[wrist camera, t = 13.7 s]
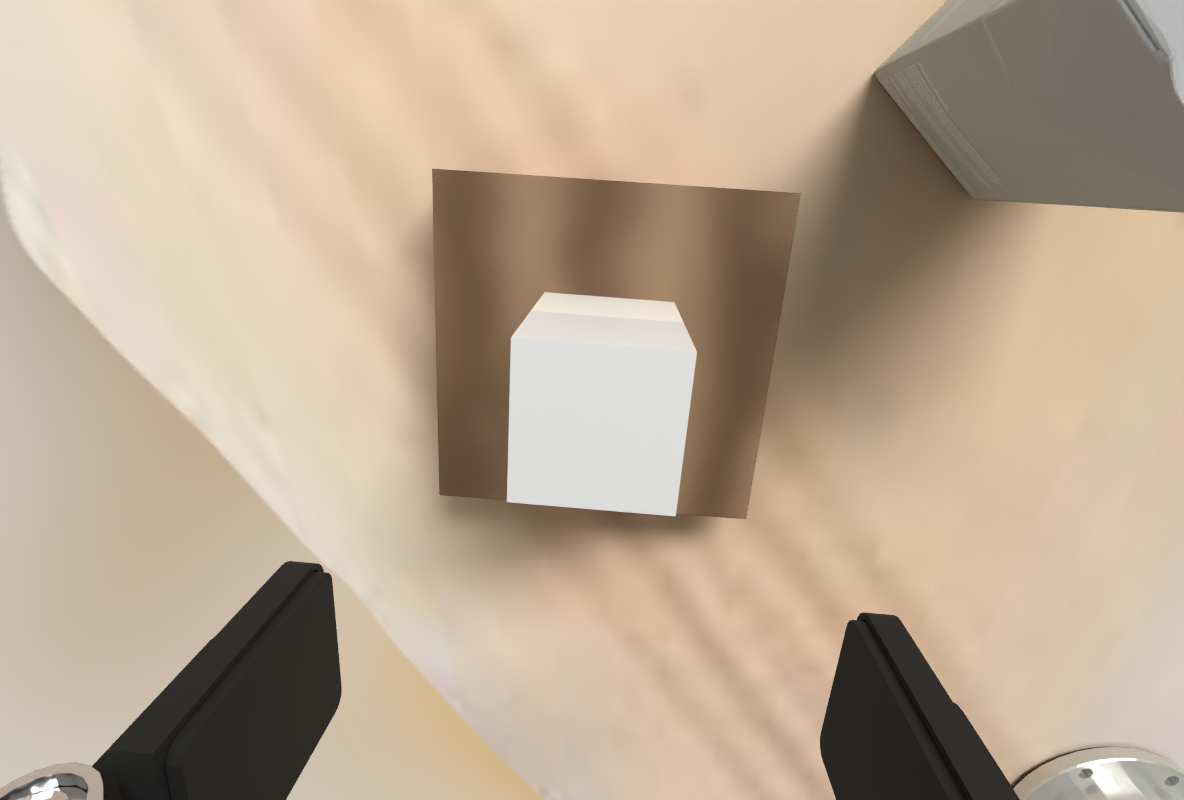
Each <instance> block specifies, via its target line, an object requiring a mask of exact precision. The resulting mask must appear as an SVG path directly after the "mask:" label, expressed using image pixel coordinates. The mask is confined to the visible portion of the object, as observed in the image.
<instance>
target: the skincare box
mask: <svg viewBox="0 0 1184 800" xmlns="http://www.w3.org/2000/svg"><path fill="white" fill-rule="evenodd" d="M874 75H875V77H876V78H877V80H878V81H879V82H880V83H881V85H882V86H883V87H884V88H885V89H886V91H887V92H888V93H889V95H890V96H891V97H892V98H893V100H894V101H895V102H896V104H897V105H898V106H899V107H900V109H901V110H902V111H903V112H904V114H905V115H906V116H907V117H908V119H909V120H910V121H911V122H912V124H913V125H914V126H915V127H916V129H917V130H918V131H919V132H920V134H921V135H922V136H923V137H924V139H925V140H926V141H927V142H928V144H929V145H930V146H931V148H932V149H933V150H934V151H935V153H936V154H937V155H938V156H939V158H940V159H941V160H942V161H943V163H944V164H945V165H946V166H947V168H948V169H949V170H950V171H951V173H952V174H953V175H954V176H955V178H956V179H957V180H958V181H959V182H960V184H961V185H962V186H963V187H964V189H965V190H966V191H967V192H968V193H969V195H970V196H971V197H972V198H973V199H975V200H993V201H1007V202H1026V203H1041V204H1058V205H1074V206H1090V207H1105V208H1120V209H1136V210H1153V211H1167V212H1183V213H1184V0H949V1H948V2H947V3H946V4H945V5H944V6H943V7H941V8H940V9H939V10H938V11H937V12H936V13H935V14H934V15H933V16H932V17H931V18H930V19H929V20H928V21H927V22H926V23H925V24H924V25H923V26H922V27H921V28H920V29H919V30H918V31H917V32H916V33H915V34H913V35H912V36H911V37H910V38H909V39H908V40H907V41H906V42H905V43H904V44H903V45H902V46H901V47H900V48H899V49H898V50H897V51H896V52H894V53H893V54H892V55H891V56H890V57H889V58H888V59H887V60H886V61H885V62H884V63H883V64H882V65H881V66H880V67H879V68H878V69H877V70H876V71H875V72H874Z"/></svg>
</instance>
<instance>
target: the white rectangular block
mask: <svg viewBox="0 0 1184 800" xmlns="http://www.w3.org/2000/svg"><path fill="white" fill-rule="evenodd" d="M696 356H697V351H696V349H695V346H694V344H693V342H692V340H691V338H690V335H689V333H688V331H687V329H686V327H685V324H684V322H683V320H682V318H681V316H680V313H679V311H678V309H677V307H676V305H675V302H666V301H653V300H640V299H627V298H614V297H600V296H587V295H574V294H561V293H548V292H544V294H543V295H542V296H541V298H540V299H539V300H538V302H537V303H536V304H535V306H534V307H533V308H532V310H531V311H530V312H529V314H528V315H527V317H526V318H525V319H524V321H523V322H522V323H521V325H520V326H519V327H518V329H517V330H516V331H515V333H514V334H513V335H512V337H511V354H510V395H509V436H508V476H507V502H511V503H523V504H535V505H547V506H559V507H571V508H582V509H594V510H606V511H618V512H630V513H642V514H654V515H666V516H676V510H677V503H678V495H679V487H680V480H681V472H682V464H683V456H684V449H685V441H686V433H687V426H688V418H689V410H690V403H691V395H692V387H693V379H694V372H695V364H696Z"/></svg>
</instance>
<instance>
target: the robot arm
mask: <svg viewBox="0 0 1184 800" xmlns="http://www.w3.org/2000/svg"><path fill="white" fill-rule="evenodd" d="M339 665H340V664H339V653H338V642H337V630H336V619H335V607H334V597H333V586H332V577H331V575H330V574H329V573H324V571H323V568H322V566H321V565H320V564H315V563H303V562H293V561H289V562H285V563H284V564H283V565H282V566H281V567H280V568H279V569H278V570H277V571H276V572H275V573H274V574H273V576H271V578H270V579H269V580H268V581H267V582H266V583H265V584H264V585H263V586H262V587H261V588H260V589H259V590H258V591H257V593H256V594H255V595H254V596H253V597H252V598H251V599H250V600H249V601H248V602H247V603H246V604H245V605H244V606H243V608H242V609H241V610H240V611H239V612H238V613H237V614H236V615H235V616H234V617H233V618H232V619H231V620H230V621H229V622H228V624H227V625H226V626H225V627H224V628H223V629H222V630H221V631H220V632H219V633H218V634H217V635H216V636H215V637H214V638H213V639H212V640H210V641H209V642H208V643H207V645H206V646H205V647H204V648H203V649H202V650H201V651H200V652H199V653H198V654H197V655H196V656H195V657H194V658H193V659H192V660H191V662H190V663H189V664H188V665H187V666H186V667H185V668H184V669H183V670H182V671H181V672H180V673H179V674H178V675H177V676H176V678H175V679H174V680H173V681H172V682H171V683H170V684H169V685H168V686H167V687H166V688H165V689H164V690H163V691H162V692H161V693H160V695H159V696H158V697H157V698H156V699H155V700H154V701H153V702H152V703H151V704H150V705H149V706H148V707H147V708H146V710H144V712H143V713H142V714H141V715H140V716H139V717H138V718H137V719H136V720H135V721H134V722H133V723H132V724H131V725H130V726H129V728H128V729H127V730H126V731H125V732H124V733H123V734H122V735H121V736H120V737H119V738H118V739H117V740H116V741H115V742H114V743H113V745H112V746H111V747H110V748H109V749H108V750H107V751H106V752H105V753H104V754H103V755H102V756H101V757H100V758H99V759H98V761H97V762H96V763H95V764H94V765H93V766H90V765H85V764H80V763H67V764H57V765H53V766H49V767H46V768H43V769H39V770H36V771H33V772H31V773H29V774H27V775H25V776H23V777H20V778H18V779H16V780H14V781H12V782H10V783H9V784H7V785H6V786H4V787H2V788H1V789H0V800H286V799H287V797H288V795H289V793H290V792H291V790H292V788H293V786H294V784H295V783H296V781H297V779H298V777H299V776H300V774H301V772H302V770H303V769H304V767H305V765H306V763H307V762H308V760H309V758H310V756H311V754H312V753H313V751H314V749H315V747H316V746H317V744H318V742H319V740H320V738H321V737H322V735H323V733H324V732H325V730H326V728H327V726H328V725H329V723H330V721H331V719H332V717H333V716H334V714H335V712H336V710H337V708H338V705H339V701H340V698H341V677H340V666H339ZM820 749H821V755H822V759H823V762H824V765H825V768H826V771H827V774H828V777H829V780H830V783H831V786H832V788H833V791H834V794H835V797H836V800H1184V773H1183V772H1182V771H1181V770H1180V769H1179V768H1178V767H1177V766H1175V765H1174V764H1173V763H1171V762H1170V761H1168V760H1167V759H1165V758H1163V757H1160V756H1158V755H1156V754H1154V753H1151V752H1147V751H1143V750H1139V749H1134V748H1122V747H1103V748H1093V749H1087V750H1082V751H1077V752H1074V753H1070V754H1067V755H1064V756H1061V757H1058V758H1056V759H1054V760H1052V761H1050V762H1048V763H1046V764H1043V765H1042V766H1040V767H1039V768H1037V769H1035V770H1034V771H1032V772H1031V773H1029V774H1028V775H1027V776H1026V777H1024V778H1023V779H1022V780H1021V781H1020V782H1019V783H1018V784H1017V785H1016V786H1015V787H1014V788H1012V787H1011V785H1010V783H1009V782H1008V780H1007V779H1006V777H1005V776H1004V774H1003V773H1002V771H1001V770H1000V768H999V766H998V765H997V763H996V762H995V760H994V759H993V757H992V756H991V754H990V753H989V751H988V749H987V748H986V746H985V745H984V743H983V742H982V740H981V739H980V737H979V735H978V734H977V732H976V731H975V729H974V728H973V726H972V725H971V723H970V722H969V720H968V718H967V717H966V715H965V714H964V712H963V711H962V710H961V709H960V708H959V706H958V705H957V704H955V703H954V702H952V700H951V699H950V697H949V695H948V694H947V692H946V691H945V689H944V688H943V686H942V685H941V683H940V681H939V680H938V678H937V677H936V675H935V674H934V672H933V670H932V669H931V667H930V666H929V664H928V663H927V661H926V659H925V658H924V656H923V655H922V653H921V652H920V650H919V648H918V647H917V645H916V644H915V642H914V641H913V639H912V637H911V636H910V634H909V633H908V631H907V630H906V628H905V627H904V625H903V623H902V622H901V620H900V619H899V618H898V617H897V616H894V615H885V614H874V613H861V614H860V615H859V616H858V618H857V620H851V621H849V622H848V624H847V627H846V631H845V636H844V640H843V644H842V648H841V652H840V656H839V660H838V665H837V669H836V673H835V677H834V681H833V685H832V689H831V694H830V698H829V702H828V706H827V710H826V714H825V718H824V723H823V727H822V731H821V736H820Z"/></svg>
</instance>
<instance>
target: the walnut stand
mask: <svg viewBox="0 0 1184 800" xmlns="http://www.w3.org/2000/svg"><path fill="white" fill-rule="evenodd" d="M432 177H433V222H434V266H435V311H436V355H437V399H438V444H439V488H440V495H448V496H461V497H473V498H486V499H498V500H507V476H508V436H509V395H510V354H511V337H512V335H513V334H514V333H515V331H516V330H517V329H518V327H519V326H520V325H521V323H522V322H523V321H524V319H525V318H526V317H527V315H528V314H529V312H530V311H531V310H532V308H533V307H534V306H535V304H536V303H537V302H538V300H539V299H540V298H541V296H542V295H543V294H544V292H548V293H561V294H574V295H587V296H600V297H614V298H627V299H640V300H653V301H666V302H675V305H676V307H677V309H678V311H679V313H680V316H681V318H682V320H683V322H684V324H685V327H686V329H687V331H688V333H689V335H690V338H691V340H692V342H693V344H694V346H695V349H696V351H697V356H696V364H695V372H694V379H693V387H692V395H691V403H690V410H689V418H688V426H687V433H686V441H685V449H684V456H683V464H682V472H681V480H680V487H679V495H678V503H677V510H676V514H687V515H700V516H712V517H725V518H737V519H746V516H747V510H748V504H749V498H750V492H751V486H752V480H753V474H754V468H755V462H756V456H757V450H758V444H759V438H760V432H761V426H762V420H763V414H764V408H765V403H766V397H767V391H768V385H769V379H770V373H771V367H772V361H773V355H774V349H775V343H776V337H777V331H778V325H779V319H780V313H781V307H782V301H783V295H784V289H785V283H786V277H787V271H788V265H789V259H790V254H791V248H792V242H793V236H794V230H795V224H796V218H797V212H798V206H799V200H800V194H801V193H787V192H772V191H757V190H742V189H727V188H712V187H697V186H682V185H667V184H652V183H637V182H622V181H607V180H592V179H577V178H562V177H547V176H532V175H517V174H502V173H487V172H472V171H457V170H442V169H432Z"/></svg>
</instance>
